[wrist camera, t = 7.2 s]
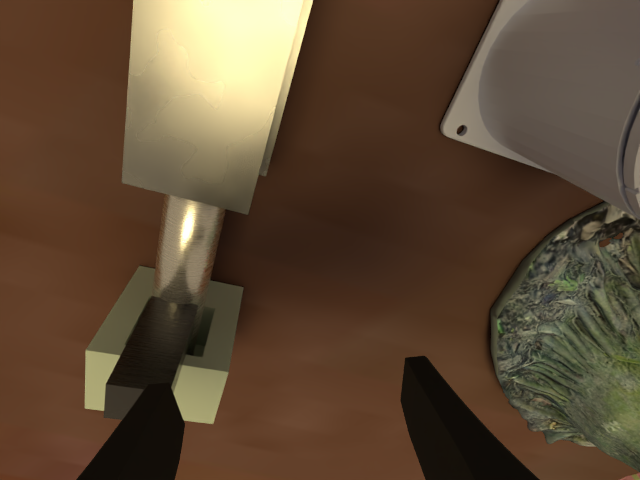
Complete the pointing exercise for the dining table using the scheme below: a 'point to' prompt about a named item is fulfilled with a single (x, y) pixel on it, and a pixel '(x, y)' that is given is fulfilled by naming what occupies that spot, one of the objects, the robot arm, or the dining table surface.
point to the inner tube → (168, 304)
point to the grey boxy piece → (208, 94)
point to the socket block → (198, 370)
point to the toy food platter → (632, 477)
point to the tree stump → (576, 334)
